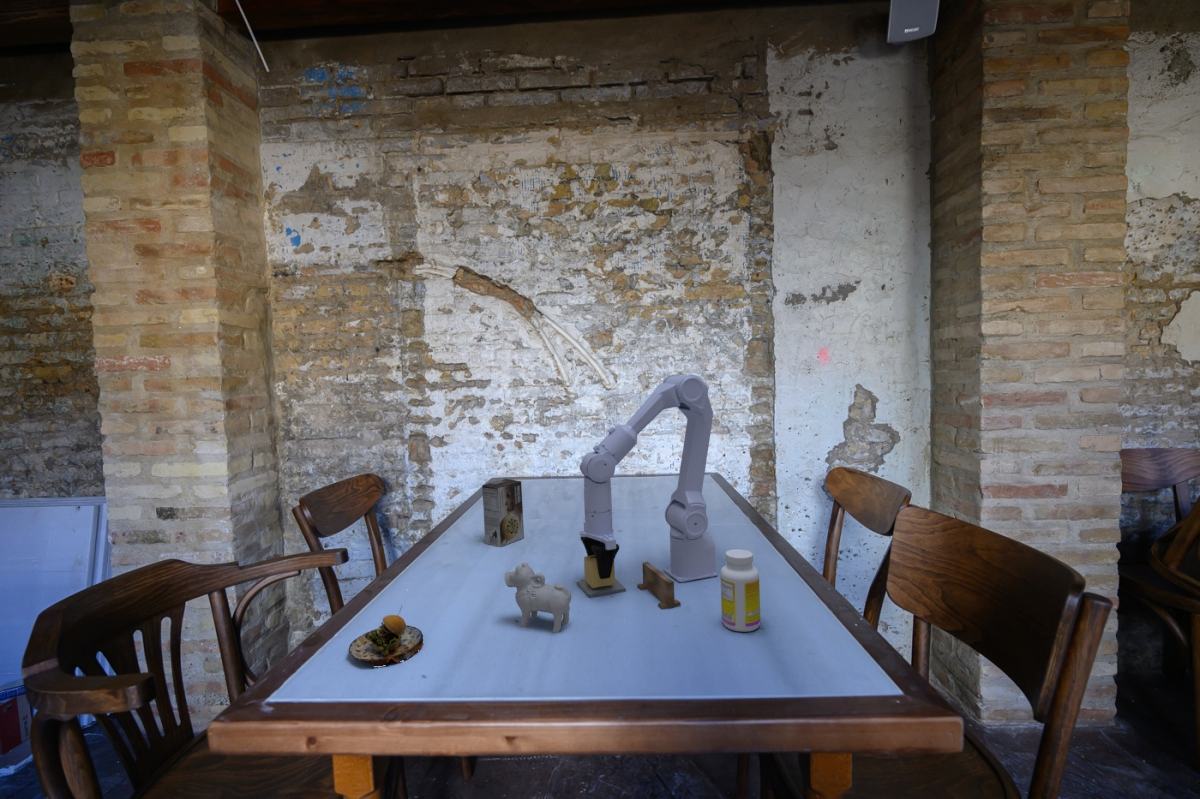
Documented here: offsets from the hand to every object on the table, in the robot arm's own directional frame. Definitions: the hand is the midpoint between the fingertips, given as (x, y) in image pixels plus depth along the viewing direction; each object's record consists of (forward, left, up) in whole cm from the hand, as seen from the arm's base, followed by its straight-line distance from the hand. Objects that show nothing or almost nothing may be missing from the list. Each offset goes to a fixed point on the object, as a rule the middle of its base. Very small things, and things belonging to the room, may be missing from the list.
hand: (600, 573), depth 117 cm
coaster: (0, 0, -3) cm, 3 cm away
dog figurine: (+16, +11, -3) cm, 20 cm away
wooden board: (-9, +9, -3) cm, 13 cm away
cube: (0, 0, -2) cm, 2 cm away
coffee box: (+13, -41, -3) cm, 43 cm away
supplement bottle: (-17, +26, -3) cm, 31 cm away
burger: (+42, +10, -3) cm, 43 cm away
